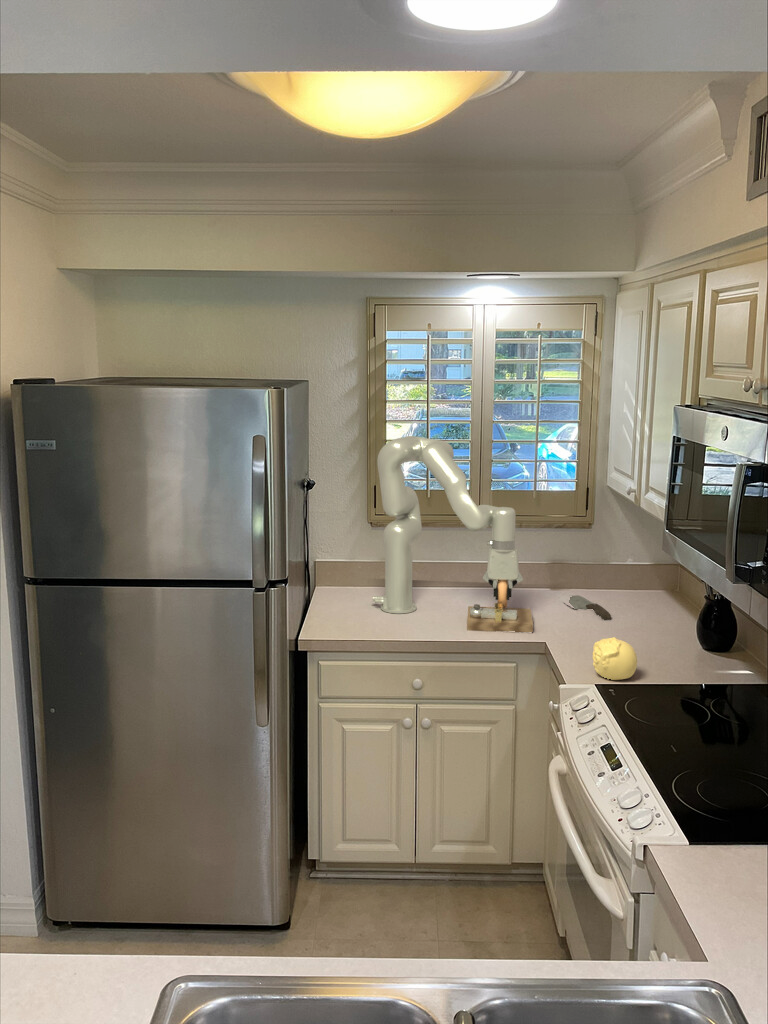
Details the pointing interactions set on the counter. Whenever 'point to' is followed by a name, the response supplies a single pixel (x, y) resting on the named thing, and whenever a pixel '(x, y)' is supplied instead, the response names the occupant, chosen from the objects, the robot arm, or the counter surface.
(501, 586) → the lock pin
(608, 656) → the sculpture
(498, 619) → the keeper
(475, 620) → the base plate
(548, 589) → the counter surface
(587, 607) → the cleaver
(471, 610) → the latch bar
